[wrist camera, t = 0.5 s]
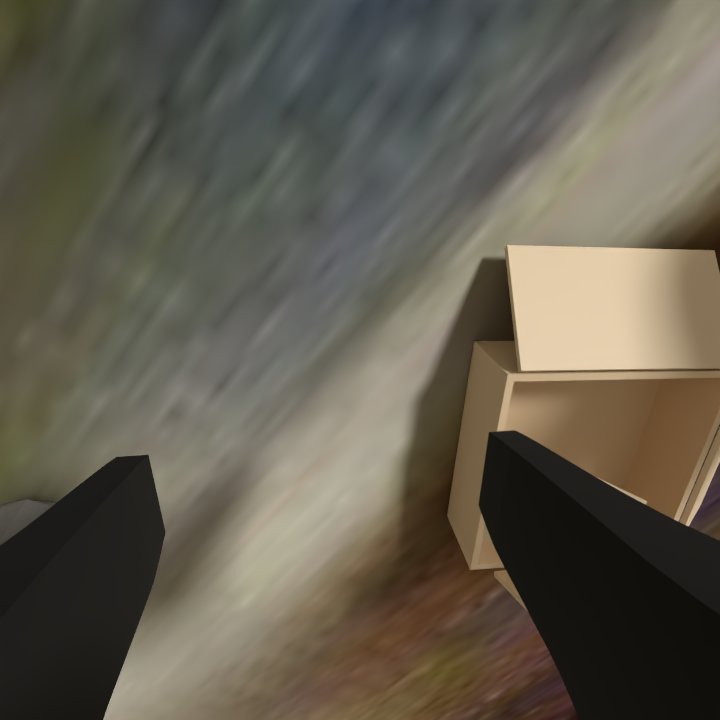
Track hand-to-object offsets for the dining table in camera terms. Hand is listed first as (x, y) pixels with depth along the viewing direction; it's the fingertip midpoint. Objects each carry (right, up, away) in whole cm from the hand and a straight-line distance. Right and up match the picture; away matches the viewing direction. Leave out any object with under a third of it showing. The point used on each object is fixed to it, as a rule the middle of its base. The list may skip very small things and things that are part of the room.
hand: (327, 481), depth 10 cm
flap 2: (+16, -2, +10) cm, 19 cm away
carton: (+11, -1, +13) cm, 17 cm away
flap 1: (+11, +2, +8) cm, 14 cm away
